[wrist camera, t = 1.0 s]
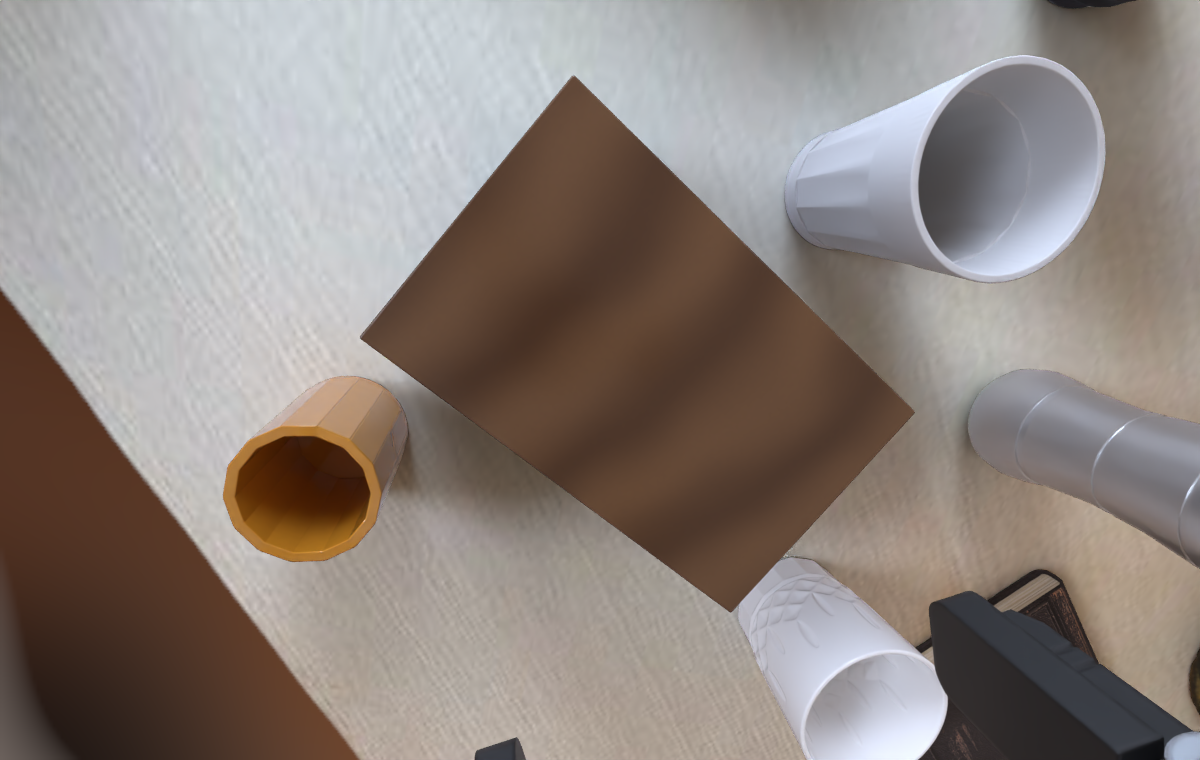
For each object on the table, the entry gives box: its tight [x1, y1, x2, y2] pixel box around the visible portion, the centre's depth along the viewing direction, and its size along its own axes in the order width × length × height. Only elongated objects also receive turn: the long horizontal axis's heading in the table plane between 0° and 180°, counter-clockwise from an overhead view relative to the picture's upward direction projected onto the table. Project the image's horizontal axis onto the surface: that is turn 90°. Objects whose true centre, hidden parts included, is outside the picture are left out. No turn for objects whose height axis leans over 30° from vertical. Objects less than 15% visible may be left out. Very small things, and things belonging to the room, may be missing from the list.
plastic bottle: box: [968, 369, 1200, 569], centre depth 30 cm, size 6×7×20 cm
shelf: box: [360, 75, 915, 612], centre depth 28 cm, size 18×11×12 cm, turn 49°
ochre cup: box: [223, 376, 408, 562], centre depth 29 cm, size 6×6×8 cm
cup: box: [785, 55, 1105, 283], centre depth 29 cm, size 8×8×12 cm
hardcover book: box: [916, 570, 1099, 760], centre depth 45 cm, size 16×23×2 cm
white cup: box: [738, 557, 948, 760], centre depth 36 cm, size 8×8×10 cm
